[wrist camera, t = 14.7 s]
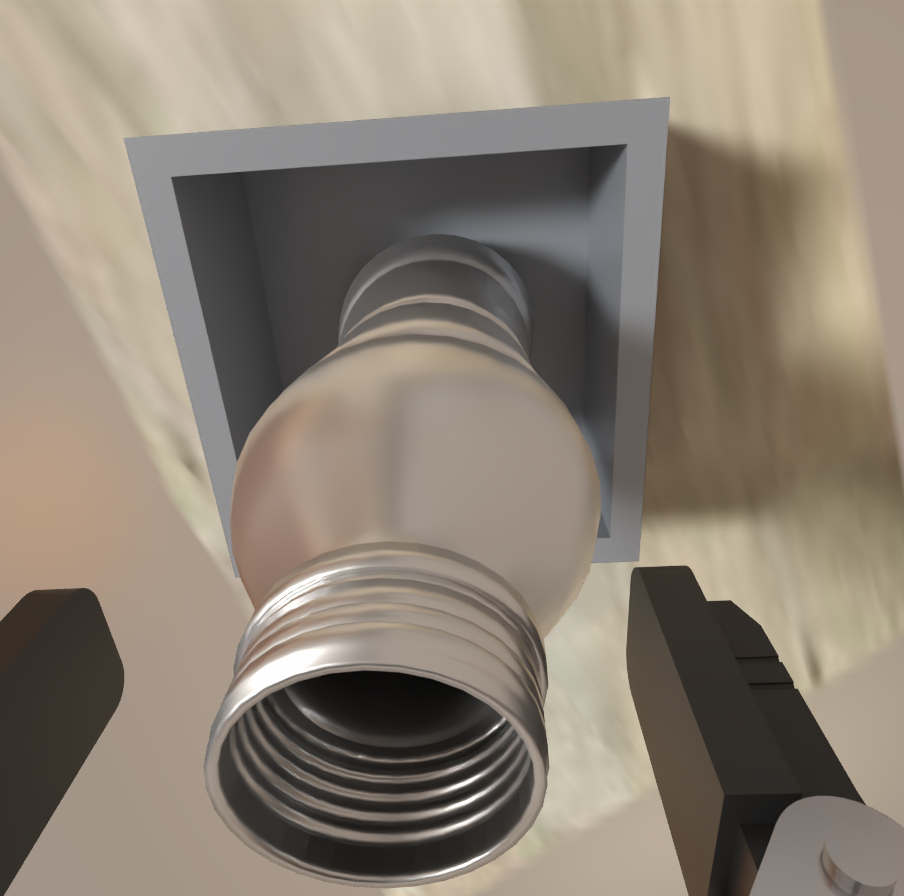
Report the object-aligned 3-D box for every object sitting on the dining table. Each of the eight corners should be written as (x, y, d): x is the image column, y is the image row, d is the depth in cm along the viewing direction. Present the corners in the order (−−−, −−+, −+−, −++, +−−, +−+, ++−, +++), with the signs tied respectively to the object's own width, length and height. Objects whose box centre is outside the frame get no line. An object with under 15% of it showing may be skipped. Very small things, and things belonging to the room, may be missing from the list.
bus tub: (216, 136, 23) (123, 138, 17) (614, 106, 23) (669, 97, 16) (285, 481, 30) (235, 577, 23) (602, 467, 29) (638, 561, 22)
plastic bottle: (320, 270, 24) (-91, 670, 6) (489, 190, 23) (573, 410, 5) (397, 418, 27) (259, 1003, 9) (554, 353, 26) (763, 885, 8)
